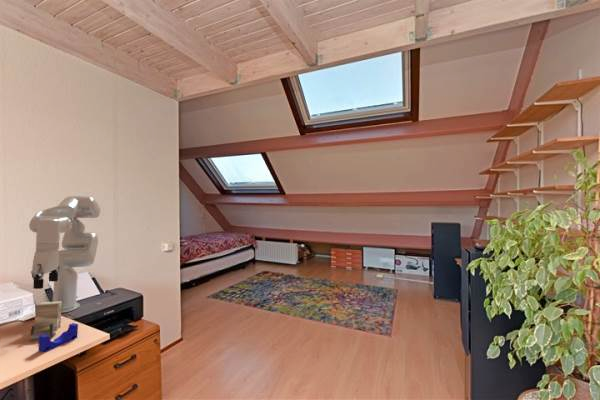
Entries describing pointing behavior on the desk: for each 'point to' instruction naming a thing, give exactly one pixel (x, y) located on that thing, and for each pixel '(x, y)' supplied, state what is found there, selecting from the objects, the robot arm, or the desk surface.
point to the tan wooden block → (48, 314)
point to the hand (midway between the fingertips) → (46, 284)
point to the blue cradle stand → (65, 337)
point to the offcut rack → (42, 332)
